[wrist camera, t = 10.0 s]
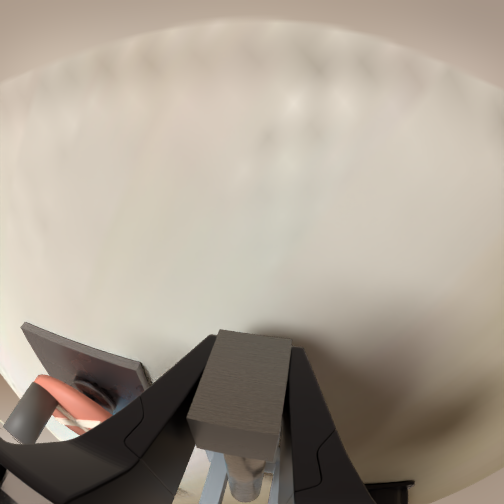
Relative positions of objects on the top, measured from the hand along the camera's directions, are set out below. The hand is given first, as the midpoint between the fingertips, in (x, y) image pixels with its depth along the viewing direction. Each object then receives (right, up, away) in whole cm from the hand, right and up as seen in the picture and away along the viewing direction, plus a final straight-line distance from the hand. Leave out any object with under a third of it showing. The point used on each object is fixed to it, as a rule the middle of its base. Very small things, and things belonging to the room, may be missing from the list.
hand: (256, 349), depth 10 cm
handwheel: (-11, -7, +7) cm, 15 cm away
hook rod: (0, -5, +3) cm, 6 cm away
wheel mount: (-11, -6, +8) cm, 15 cm away
